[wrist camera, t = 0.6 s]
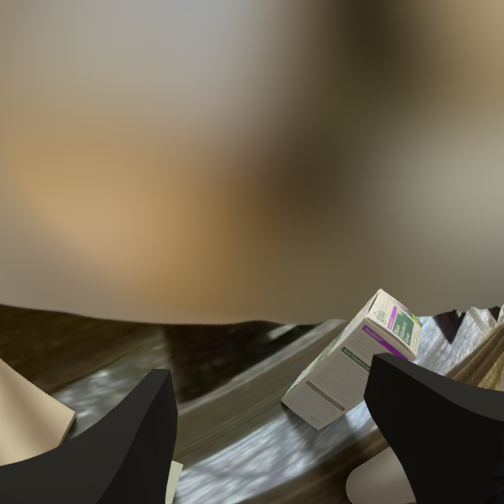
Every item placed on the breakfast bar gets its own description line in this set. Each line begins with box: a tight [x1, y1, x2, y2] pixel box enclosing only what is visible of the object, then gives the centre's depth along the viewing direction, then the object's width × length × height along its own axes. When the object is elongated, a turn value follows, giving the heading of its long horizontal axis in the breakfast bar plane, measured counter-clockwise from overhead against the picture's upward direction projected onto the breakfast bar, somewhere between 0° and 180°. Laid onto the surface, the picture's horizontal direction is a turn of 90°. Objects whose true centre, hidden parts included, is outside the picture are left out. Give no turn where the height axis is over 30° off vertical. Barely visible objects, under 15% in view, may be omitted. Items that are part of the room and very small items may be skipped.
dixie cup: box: [346, 447, 416, 504], centre depth 19 cm, size 8×8×10 cm
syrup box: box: [281, 289, 422, 430], centre depth 25 cm, size 6×6×14 cm
